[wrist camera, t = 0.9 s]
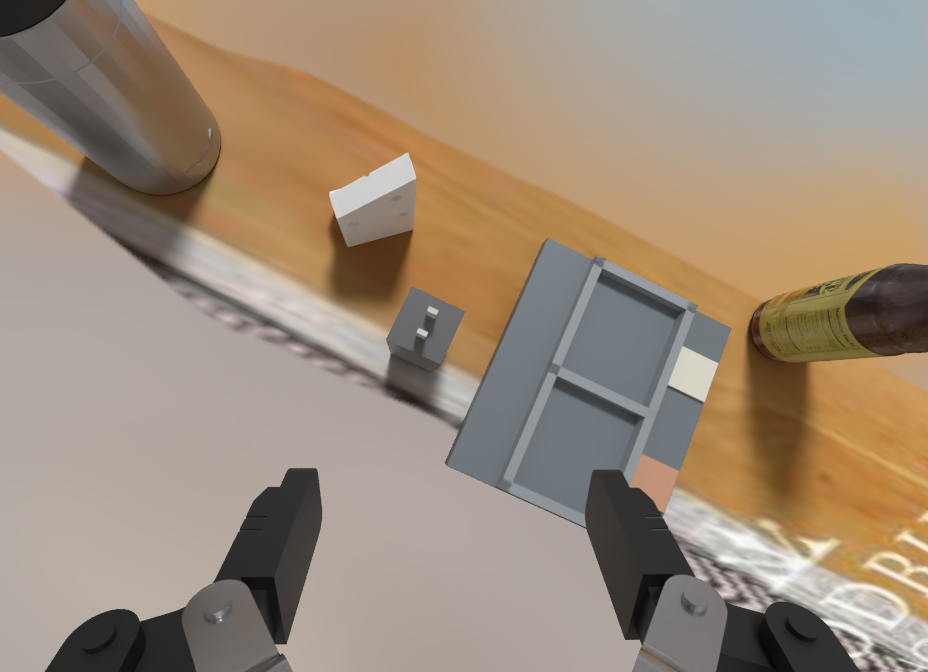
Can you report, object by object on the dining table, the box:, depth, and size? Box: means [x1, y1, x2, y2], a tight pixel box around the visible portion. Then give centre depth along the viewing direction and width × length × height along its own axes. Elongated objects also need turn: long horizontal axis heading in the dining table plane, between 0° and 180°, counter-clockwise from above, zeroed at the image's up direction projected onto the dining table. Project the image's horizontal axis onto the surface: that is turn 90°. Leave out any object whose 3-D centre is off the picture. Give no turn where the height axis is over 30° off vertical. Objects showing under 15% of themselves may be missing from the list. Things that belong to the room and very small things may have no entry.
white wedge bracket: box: [329, 153, 417, 247], centre depth 37 cm, size 4×10×9 cm, turn 108°
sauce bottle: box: [751, 264, 928, 363], centre depth 34 cm, size 7×6×20 cm
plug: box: [386, 286, 465, 372], centre depth 34 cm, size 4×4×13 cm
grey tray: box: [445, 238, 731, 529], centre depth 40 cm, size 18×21×3 cm
